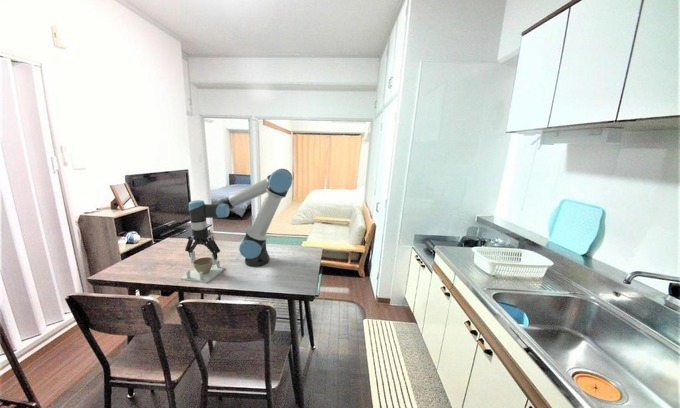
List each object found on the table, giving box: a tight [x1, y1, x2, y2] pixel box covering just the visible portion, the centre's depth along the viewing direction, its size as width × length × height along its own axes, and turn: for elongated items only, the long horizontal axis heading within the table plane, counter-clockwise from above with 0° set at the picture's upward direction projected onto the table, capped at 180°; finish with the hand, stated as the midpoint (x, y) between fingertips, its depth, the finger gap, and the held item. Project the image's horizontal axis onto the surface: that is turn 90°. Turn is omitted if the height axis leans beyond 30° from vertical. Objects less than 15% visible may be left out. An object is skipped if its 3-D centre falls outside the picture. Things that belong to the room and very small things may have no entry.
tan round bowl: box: [193, 256, 213, 274], centre depth 136 cm, size 10×10×7 cm
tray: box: [180, 260, 226, 284], centre depth 137 cm, size 16×16×5 cm
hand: (204, 263), depth 136 cm, fingers open, 13 cm apart
